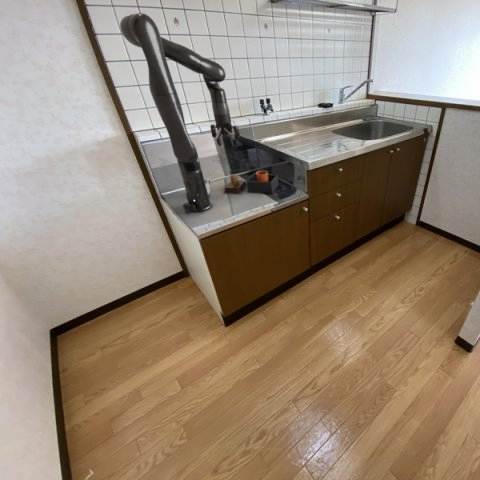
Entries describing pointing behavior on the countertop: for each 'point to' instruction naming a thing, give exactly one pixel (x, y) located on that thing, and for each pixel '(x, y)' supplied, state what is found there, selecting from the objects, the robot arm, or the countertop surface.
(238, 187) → the tap block
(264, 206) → the countertop surface
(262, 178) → the cup
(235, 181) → the tap knob
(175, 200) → the countertop surface
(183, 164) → the robot arm
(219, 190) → the countertop surface
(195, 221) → the countertop surface
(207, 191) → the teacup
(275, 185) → the basin
